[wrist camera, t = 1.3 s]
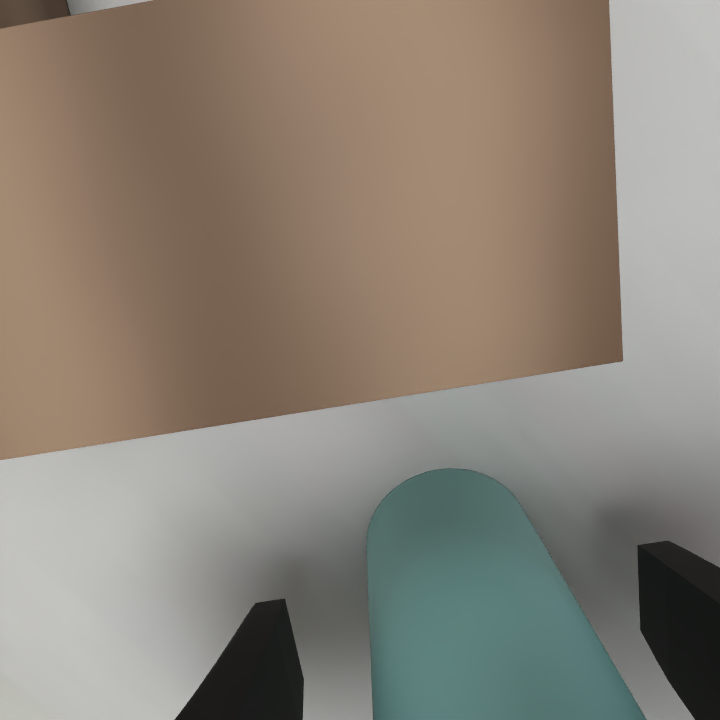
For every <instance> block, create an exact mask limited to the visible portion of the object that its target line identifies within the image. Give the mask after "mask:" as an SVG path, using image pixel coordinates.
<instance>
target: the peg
mask: <svg viewBox="0 0 720 720" xmlns="http://www.w3.org/2000/svg"><path fill="white" fill-rule="evenodd" d="M366 548H367V574H368V599H369V625H370V650H371V676H372V701H373V720H646V718H645V716H644V715H643V713H642V711H641V710H640V708H639V706H638V704H637V703H636V701H635V699H634V698H633V696H632V694H631V693H630V691H629V689H628V687H627V686H626V684H625V682H624V681H623V679H622V677H621V675H620V674H619V672H618V670H617V669H616V667H615V665H614V664H613V662H612V660H611V658H610V657H609V655H608V653H607V652H606V650H605V648H604V647H603V645H602V643H601V641H600V640H599V638H598V636H597V635H596V633H595V631H594V629H593V628H592V626H591V624H590V623H589V621H588V619H587V618H586V616H585V614H584V612H583V611H582V609H581V607H580V606H579V604H578V602H577V601H576V599H575V597H574V595H573V594H572V592H571V590H570V589H569V587H568V585H567V583H566V582H565V580H564V578H563V577H562V575H561V573H560V572H559V570H558V568H557V566H556V565H555V563H554V561H553V560H552V558H551V556H550V555H549V553H548V551H547V549H546V548H545V546H544V544H543V543H542V541H541V539H540V537H539V536H538V534H537V532H536V531H535V529H534V527H533V526H532V524H531V522H530V520H529V519H528V517H527V515H526V514H525V512H524V510H523V509H522V507H521V505H520V504H519V502H518V501H517V499H516V498H515V496H514V495H513V494H512V493H511V492H510V491H509V490H508V489H507V488H505V487H504V486H503V485H502V484H500V483H499V482H497V481H496V480H494V479H492V478H490V477H488V476H486V475H483V474H481V473H477V472H474V471H470V470H463V469H440V470H434V471H429V472H425V473H423V474H420V475H417V476H415V477H412V478H410V479H408V480H406V481H405V482H403V483H402V484H400V485H399V486H397V487H396V488H395V489H394V490H392V491H391V492H390V493H389V494H388V495H387V496H386V497H385V498H384V499H383V500H382V502H381V503H380V505H379V506H378V507H377V509H376V511H375V513H374V515H373V517H372V519H371V522H370V525H369V528H368V533H367V544H366Z"/></svg>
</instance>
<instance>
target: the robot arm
mask: <svg viewBox="0 0 720 720" xmlns="http://www.w3.org/2000/svg"><path fill="white" fill-rule="evenodd" d="M637 547H638V575H639V604H640V630H641V632H642V634H643V636H644V638H645V639H646V641H647V643H648V645H649V647H650V649H651V651H652V653H653V654H654V656H655V658H656V660H657V662H658V663H659V665H660V667H661V669H662V670H663V672H664V674H665V676H666V677H667V679H668V681H669V683H670V684H671V685H672V687H673V688H674V690H675V691H676V693H677V694H678V696H679V697H680V699H681V700H682V701H683V703H684V704H685V706H686V707H687V709H688V710H689V711H690V713H691V714H692V716H693V717H694V718H695V720H720V568H719V567H717V566H715V565H714V564H712V563H710V562H708V561H706V560H704V559H702V558H701V557H699V556H697V555H695V554H693V553H691V552H689V551H688V550H686V549H684V548H682V547H680V546H678V545H676V544H674V543H672V542H670V541H663V542H656V543H649V544H643V545H637ZM303 690H304V678H303V674H302V670H301V665H300V661H299V657H298V653H297V648H296V644H295V640H294V636H293V631H292V627H291V623H290V619H289V614H288V610H287V606H286V601H285V599H279V600H272V601H266V602H259V603H255V605H254V606H253V607H252V609H251V610H250V612H249V613H248V615H247V616H246V618H245V619H244V621H243V622H242V624H241V625H240V627H239V628H238V630H237V632H236V633H235V635H234V636H233V638H232V639H231V641H230V642H229V644H228V645H227V647H226V648H225V650H224V651H223V653H222V654H221V656H220V657H219V659H218V660H217V662H216V663H215V665H214V666H213V668H212V669H211V670H210V672H209V673H208V675H207V676H206V678H205V679H204V681H203V682H202V683H201V685H200V686H199V688H198V689H197V691H196V692H195V693H194V695H193V696H192V697H191V699H190V700H189V702H188V703H187V704H186V705H185V707H184V708H183V709H182V711H181V712H180V713H179V715H178V716H177V717H176V719H175V720H303Z"/></svg>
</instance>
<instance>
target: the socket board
mask: <svg viewBox="0 0 720 720" xmlns="http://www.w3.org/2000/svg"><path fill="white" fill-rule="evenodd" d="M621 361H623V350H622V324H621V299H620V273H619V248H618V222H617V196H616V171H615V145H614V120H613V94H612V69H611V43H610V17H609V0H153V1H148V2H142V3H137V4H131V5H126V6H121V7H115V8H110V9H104V10H99V11H93V12H88V13H83V14H77V15H72V16H70V15H69V11H68V7H67V3H66V0H0V460H4V459H10V458H17V457H23V456H29V455H36V454H42V453H48V452H54V451H61V450H67V449H73V448H80V447H86V446H92V445H98V444H105V443H111V442H117V441H124V440H130V439H136V438H142V437H149V436H155V435H161V434H168V433H174V432H180V431H187V430H193V429H199V428H205V427H212V426H218V425H224V424H231V423H237V422H243V421H249V420H256V419H262V418H268V417H275V416H281V415H287V414H293V413H300V412H306V411H312V410H319V409H325V408H331V407H338V406H344V405H350V404H356V403H363V402H369V401H375V400H382V399H388V398H394V397H400V396H407V395H413V394H419V393H426V392H432V391H438V390H445V389H451V388H457V387H463V386H470V385H476V384H482V383H489V382H495V381H501V380H507V379H514V378H520V377H526V376H533V375H539V374H545V373H551V372H558V371H564V370H570V369H577V368H583V367H589V366H596V365H602V364H608V363H614V362H621Z"/></svg>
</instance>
